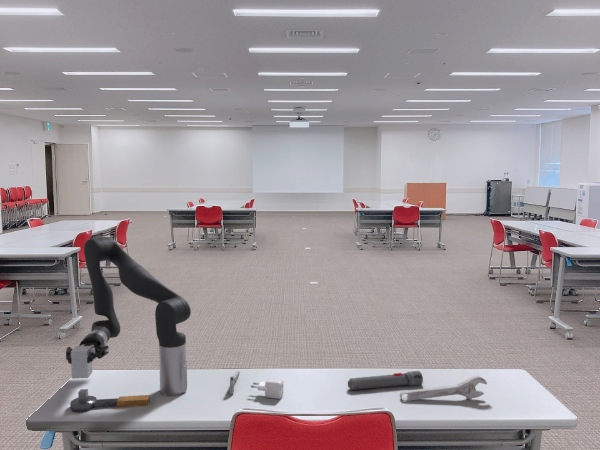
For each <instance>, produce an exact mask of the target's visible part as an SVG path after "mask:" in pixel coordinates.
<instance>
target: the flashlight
mask: <svg viewBox="0 0 600 450" xmlns="http://www.w3.org/2000/svg"><path fill="white" fill-rule="evenodd" d="M423 381H424V377H423V374H422V372H421V371H420V370H415V371H408V372H407V371H406V372H405V373H401V372H398V373H397V372H395V373H392V374H384V375H383V374H382V375H375V376H374V375H373V376H362V377H352V378H349V380H348V381H347V387H348V388H349V389H350V390H351V391H356V390H368V389H375V388H376V389H377V388H387V387H397V386H398V387H399V386H412V387H413V386H420V385H421V386H422V384H423V383H424V382H423Z"/></svg>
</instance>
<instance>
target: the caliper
mask: <svg viewBox="0 0 600 450" xmlns="http://www.w3.org/2000/svg"><path fill="white" fill-rule="evenodd" d="M240 373H241V372H240V370H236V372H235V373H234V375H233V376H230V378H229V379H230V381H229V395H230V396H232V395H234V393H235V392H234V391H235V385H236V381H237V380H238V378H239V376H240Z"/></svg>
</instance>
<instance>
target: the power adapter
mask: <svg viewBox="0 0 600 450" xmlns="http://www.w3.org/2000/svg"><path fill="white" fill-rule="evenodd" d="M252 384H253V385H250V388H252V389H254V388H255V389H257V390H258V391H262V392H264V396H265V398H268V399H275V400H278V399H279V400H280V399H281V398H283V395H284V380H283V379H281V378H280V379H279V378H270V377H269V378H267V379H266V380H265V381H260V382H253V383H252Z"/></svg>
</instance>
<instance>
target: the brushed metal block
mask: <svg viewBox="0 0 600 450" xmlns="http://www.w3.org/2000/svg"><path fill="white" fill-rule="evenodd" d="M72 349H73V350H72V351H71V364H70V367H71V379H72V380H73V379H75V380H76V379H88V378H89V377H90V376H91V375H92V373H93V361H92V362H90V363H87V357H88V355H89V354H90V353H91V351H92V346H79V345H78V346H76V345H75V347H74V348H72Z"/></svg>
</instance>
